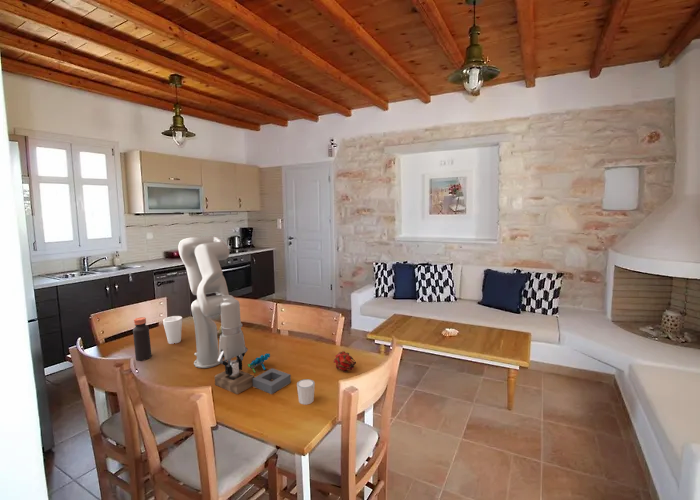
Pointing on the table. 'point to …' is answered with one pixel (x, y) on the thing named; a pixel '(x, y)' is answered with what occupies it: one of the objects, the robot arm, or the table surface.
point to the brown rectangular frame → (234, 382)
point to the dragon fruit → (344, 361)
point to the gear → (259, 362)
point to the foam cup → (173, 328)
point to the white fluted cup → (306, 391)
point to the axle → (234, 369)
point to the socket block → (278, 381)
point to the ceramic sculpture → (219, 331)
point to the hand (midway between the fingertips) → (234, 371)
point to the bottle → (141, 339)
